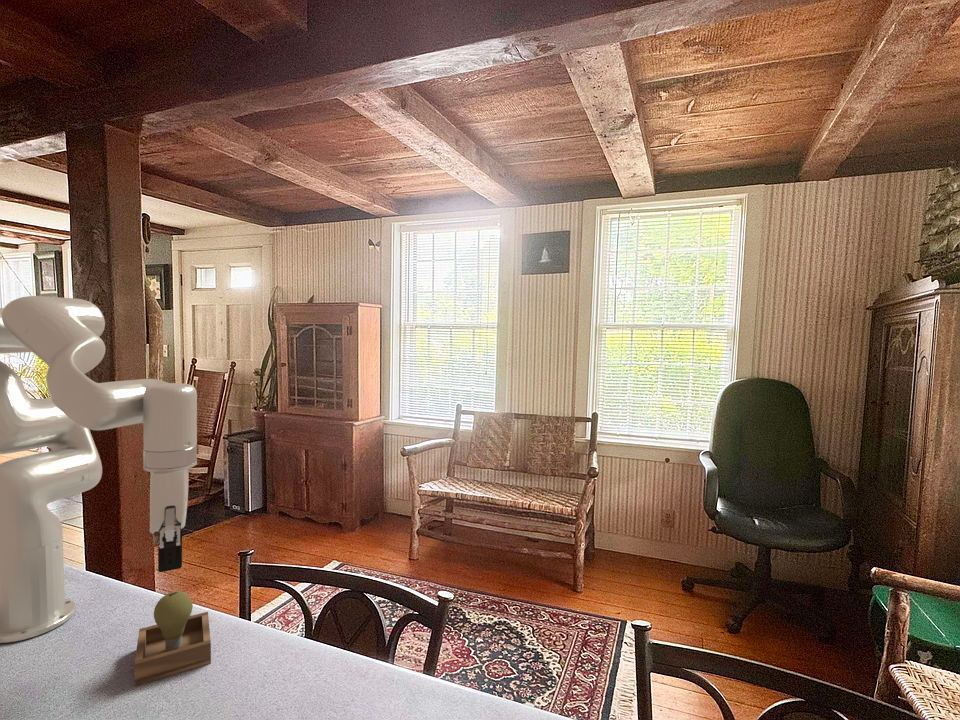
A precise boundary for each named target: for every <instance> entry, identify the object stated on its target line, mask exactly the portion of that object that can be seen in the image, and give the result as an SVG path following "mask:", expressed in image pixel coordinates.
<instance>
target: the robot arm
mask: <svg viewBox="0 0 960 720" xmlns="http://www.w3.org/2000/svg"><path fill="white" fill-rule="evenodd" d="M100 309H101V308H99V307H98V306H97V305H95V304H94V303H93V302H91V301H88V300H85V299H82V298H72V297H61V296H60V297H58V296H44V295H41V296H40V295H28V296H21V297H19V298H16V299H13V300H12V301H10V302H9V303H7V304H6V305H5V307H3V308H2V307H0V354H10V353H11V354H14V353H15V354H16V353H19V354H20V353H33V354H34V355H36V357H38V358H39V359H40V360H41V361H42V362H43V363H45V364H46V365H47V366H48V368H47V372H46V379H45V380H46V387H47V391H48V395H49V397H47V398H45V397H44V398H37V399H36V398H35V399H33V398H31V397H29V395H28V392H26V389H25V386H24V383H23V381H22V378H21V377H20V376H19V374H18V373H17V372H16V371H15V370H13V369H12V368H11V367H10V366H9V365H7V364H6V363H4V362H3V361H1V360H0V455H7V454H13V453H20V452H24V451H29V450H34V449H39V448H45V447H49V448H50V450H51V451H46V452H40V453H34V454H31V455H26V456H21V457H16V458H12V459H10V460H6V461H4V462H1V463H0V644H5V643H6V644H9V643H14V642H19V641H25V640H27V639H31V638H35V637H37V636H40V635H43V634H45V633H48V632H50V631H52V630H54V629H56V628H58V627H60V626H62V625H63V624H64V623H66V622H67V621H68V620H70V619H71V618H72V617H73V615H74V614H75V613H76V603H75V601H74V600H71V599H70V598H69V599H68V598H66V597H65V567H64V565H65V564H64V534H63V533H64V532H63V524H62V521H61V520H60V518H59V517H58V515H56V514H54V512H52V511H51V510H50V509H49V508H48V505H49V504H51V503H54V502H56V501H59V500H63V499H67V498H69V497H72V496H75V495H79V494H82V493H84V492H87V491H90V490H92V489H93V488H95V487H96V486H97V485H98V484H99V483H100V481H101V479H102V476H103V465H102V464H103V463H102V460H101V458H100V457H101V456H100V454H99V451H98V448H97V446H96V444H95V441H94V438H93V436H92V433H91V431H106V430H111V429H116V428H121V427H122V428H123V427H127V426H131V425H132V426H133V425H138V424H139V425H140V424H142V425H143V434H142V435H143V436H142V437H143V438H142V439H143V441H142V442H143V444H142V445H143V459H142V460H143V471H145V472H149V473H151V474H150V484H149V533H151V534H155V532H156V533H158V532H159V546H157V552H158V555H157V558H158V559H157V562H158V563H157V564H158V565H157V571H158V573H164V572H169V571H174V570H180V569H181V568H182V567H183V528H184V527H186V519H187V514H188V512H187V511H188V502H189V480H190V479H189V477H190V475H189V473H190V471H189V470H190V469H191V468H193V467H196V466H197V464H198V453H197V452H198V448H197V447H198V392H197V389H196V388H195V386H194V385H192V384H190V383H189V384H188V383H182V382H167V381H164V380H160V379H157V378H156V379H155V378H139V379H126V380H125V379H124V380H117V381H107V382H96V381H94V380H92V379H91V378H90V377H88V376H87V375H85V374H87V373H88V372H91V370H93V369H95V368H96V367H97V366H98V365H99V364H100V363H101V362H102V361H103V359H104V357H105V354H106V345H105V342H104V340H103V339H102V338H101V336H102V334H104V333H103V332H104V330H105V328H106V327H105V326H106V320H105V317H104V315H103V312H102V310H100Z"/></svg>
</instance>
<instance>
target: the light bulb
mask: <svg viewBox="0 0 960 720" xmlns="http://www.w3.org/2000/svg"><path fill="white" fill-rule="evenodd" d="M193 603H194V602H193V600H192V598H191V596H190V595H189V594H188V593H187V592H185V591H180V590H175V591H170V592H168V593H166V594H164V595H163V596H162V597H161V598H160V599H159V600H158V601H157V603H156V605H155V606H154V607H155V608H154V610H153V618H154V622H155V625H158V626H159V628H160V629H161V631H162V634H163V637H164V638H165V646H166V647H165V648H166V650H170V651H172V650H175V649H178V648H179V647H180V646H181V645H182V634H183V632H184V629H185V625H186V622H187V620H188V619H189V617H190V616H191V614H192V611H193V606H194V604H193Z"/></svg>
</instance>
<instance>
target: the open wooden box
mask: <svg viewBox="0 0 960 720" xmlns="http://www.w3.org/2000/svg"><path fill="white" fill-rule="evenodd" d="M209 618H210V617H209V611H204V612H201V613H200V612H199V613H198V614H197V613H196V614H193V615H190V617H189V619H188V620H187V622H186V625H185V629H184V632H183V634H182V645H181V646H180V647H179V648H178V649H175V650H172V651H170V650H166V648H165V647H166V646H165V638H164V637H163V634H162V631H161V629H160V628H159V626H158V625H157V624H153V625H150V626H145V627H142V628H138V629H139V630H138V636H137V637H138V638H137V644H136V650H135V657H134V662H133V663H134V664H133V665H134V668H133V669H134V687H137V686H140V685H143V684H146V683H149V682H153V681H157V680H160V679H164V678H166V677H170V676H172V675H176V674H179V673H183V672H185V671H189V670H193V669H197V668H200V667H202V666H206V665H208V664H212V649H211V648H212V647H211V646H212V642H211V629H210V619H209Z"/></svg>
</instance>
